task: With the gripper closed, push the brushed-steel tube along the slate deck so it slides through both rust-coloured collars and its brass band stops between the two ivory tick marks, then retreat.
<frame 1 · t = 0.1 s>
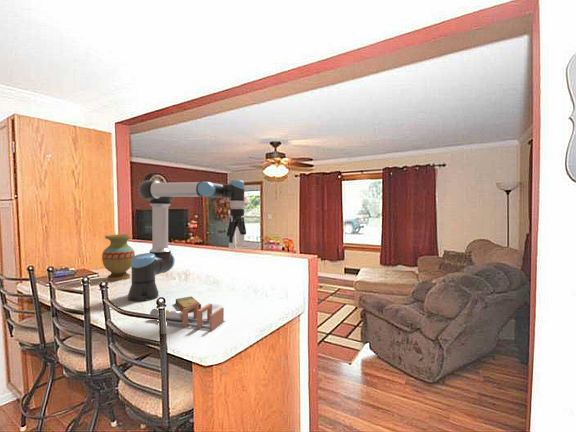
hand: (236, 247, 166), 28 cm above the worktop, fingers open, 13 cm apart
tube: (169, 320, 129), point 1 cm above the worktop, touching collar deck
collar deck: (190, 325, 127), on the worktop
carton: (187, 310, 147), on the worktop
vase: (118, 278, 209), on the worktop
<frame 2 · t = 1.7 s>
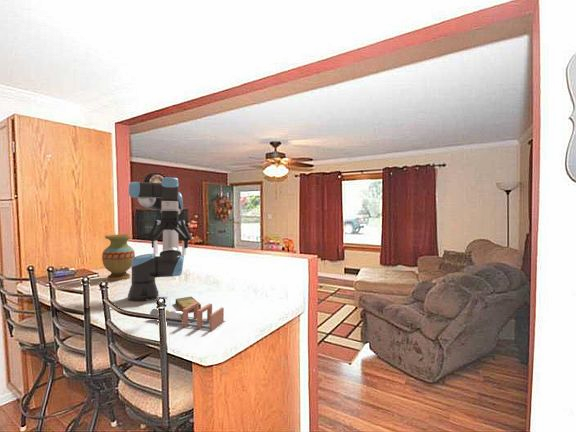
hand: (169, 254, 144), 27 cm above the worktop, fingers open, 13 cm apart
nothing on the worktop moved.
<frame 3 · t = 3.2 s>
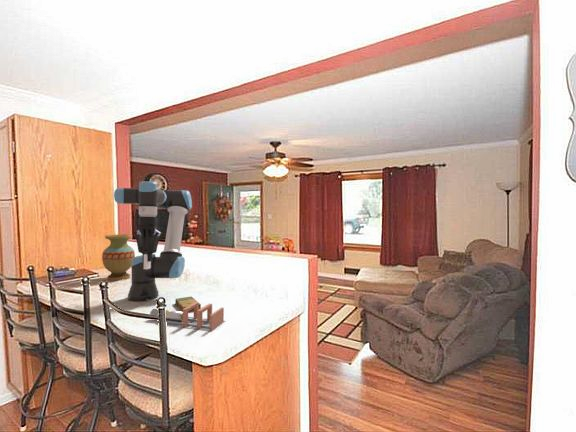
hand: (147, 268, 135), 22 cm above the worktop, fingers closed
nothing on the worktop moved.
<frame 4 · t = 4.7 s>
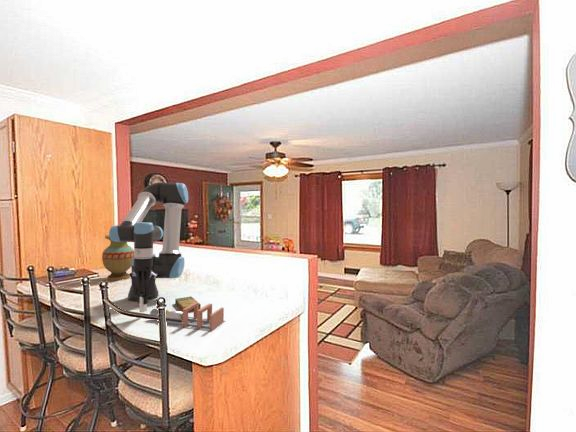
hand: (143, 311, 132), 4 cm above the worktop, fingers closed
nothing on the worktop moved.
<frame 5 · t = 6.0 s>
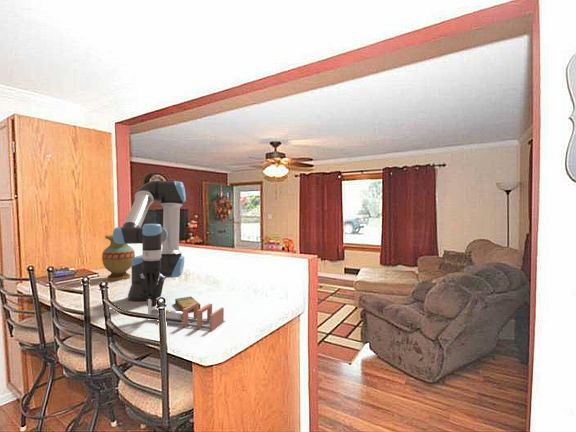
hand: (151, 313, 131), 3 cm above the worktop, fingers closed
tube: (169, 320, 129), point 1 cm above the worktop, touching gripper
everything else where it was.
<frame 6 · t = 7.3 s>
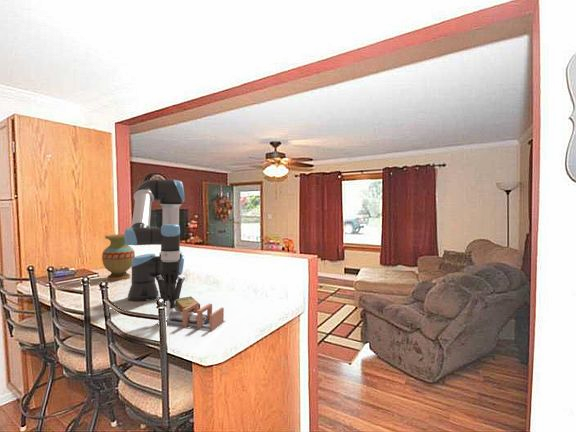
hand: (169, 315, 129), 3 cm above the worktop, fingers closed
tube: (188, 322, 127), point 1 cm above the worktop, touching gripper
everything else where it was.
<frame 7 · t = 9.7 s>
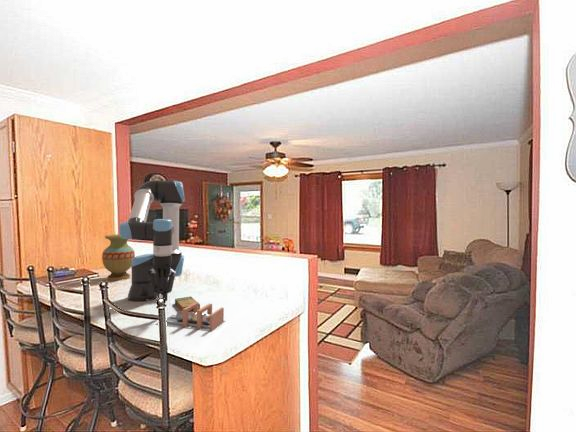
hand: (162, 308, 132), 5 cm above the worktop, fingers closed
tube: (194, 322, 126), point 1 cm above the worktop, tilted 14°, touching collar deck
everything else where it was.
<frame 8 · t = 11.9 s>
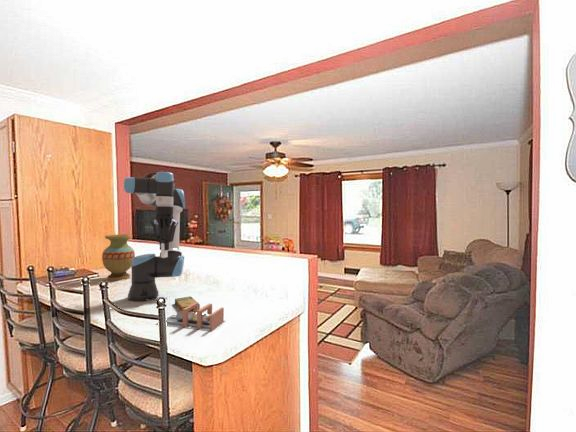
hand: (164, 257, 139), 26 cm above the worktop, fingers closed
nothing on the worktop moved.
at the end: tube 0.9 cm from the target spot on the collar deck, point 1.1 cm above the collar deck's base; tube moved 12.3 cm from its start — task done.
